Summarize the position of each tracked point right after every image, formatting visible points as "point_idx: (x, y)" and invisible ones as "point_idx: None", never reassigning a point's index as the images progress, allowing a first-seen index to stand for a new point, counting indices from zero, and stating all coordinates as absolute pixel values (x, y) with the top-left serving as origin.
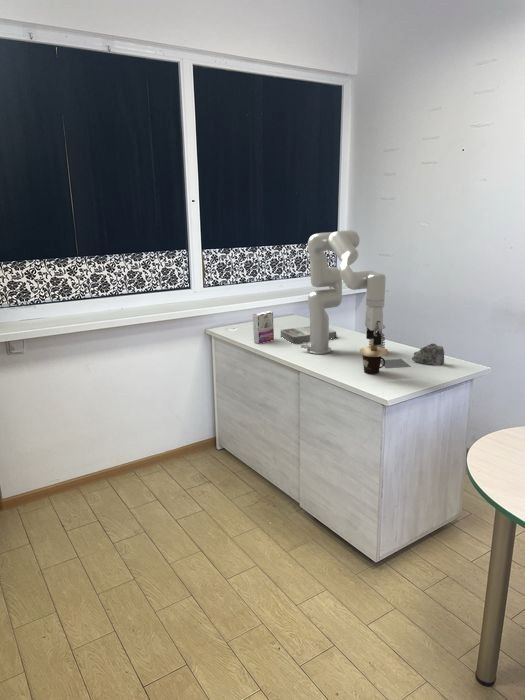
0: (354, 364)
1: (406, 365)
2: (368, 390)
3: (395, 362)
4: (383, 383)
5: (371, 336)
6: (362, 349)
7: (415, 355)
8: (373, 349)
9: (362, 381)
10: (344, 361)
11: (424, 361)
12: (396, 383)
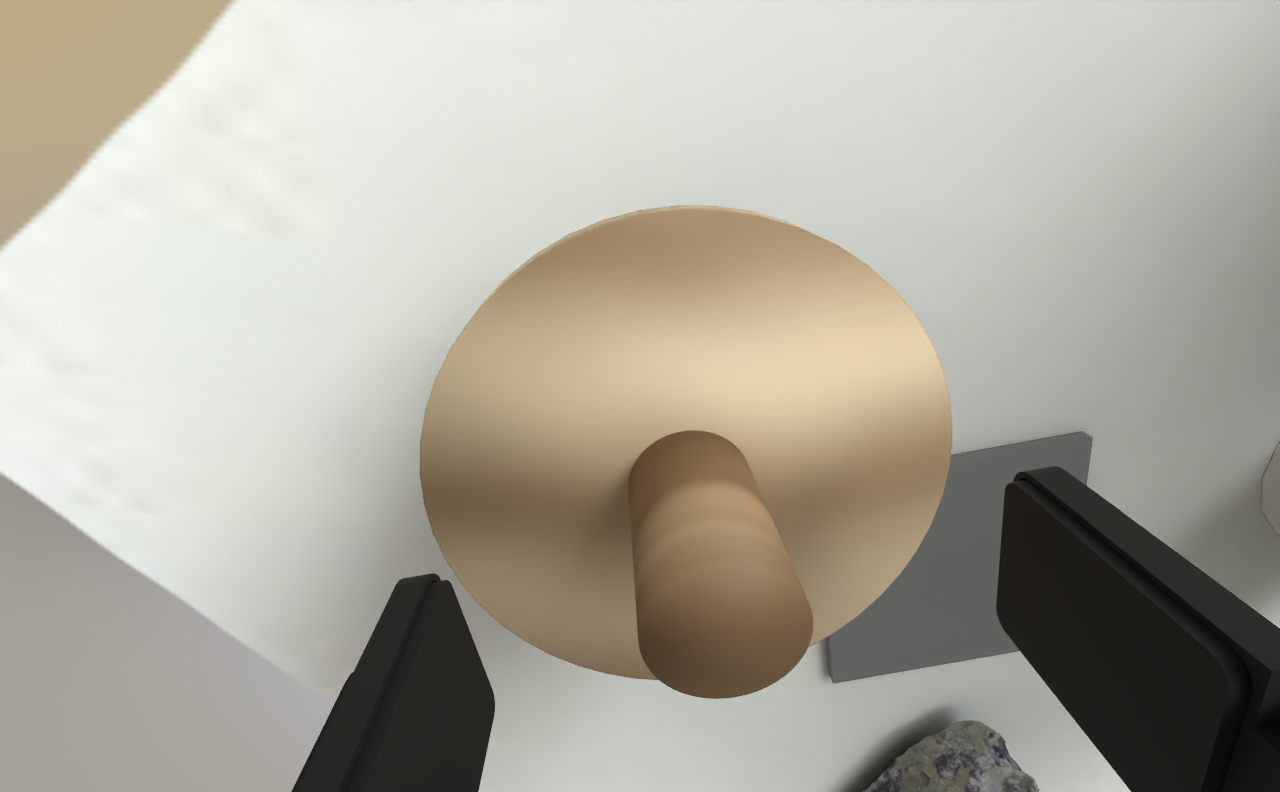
0: (1058, 162)
1: (868, 655)
2: (100, 223)
3: (976, 587)
4: (374, 407)
5: (1038, 621)
6: (768, 278)
7: (992, 776)
8: (631, 491)
9: (406, 189)
10: (1226, 30)
11: (890, 790)
12: (394, 517)
